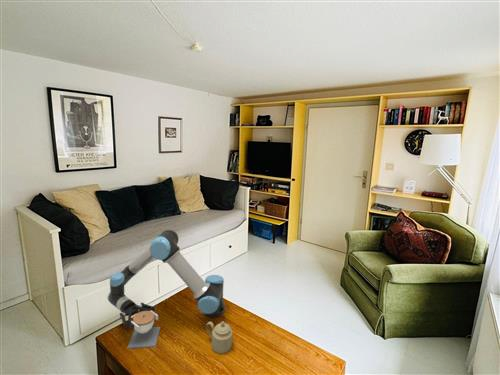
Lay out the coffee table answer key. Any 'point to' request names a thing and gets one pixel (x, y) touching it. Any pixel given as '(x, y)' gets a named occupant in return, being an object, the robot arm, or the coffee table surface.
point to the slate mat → (144, 338)
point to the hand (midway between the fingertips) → (148, 323)
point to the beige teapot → (220, 337)
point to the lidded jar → (144, 321)
